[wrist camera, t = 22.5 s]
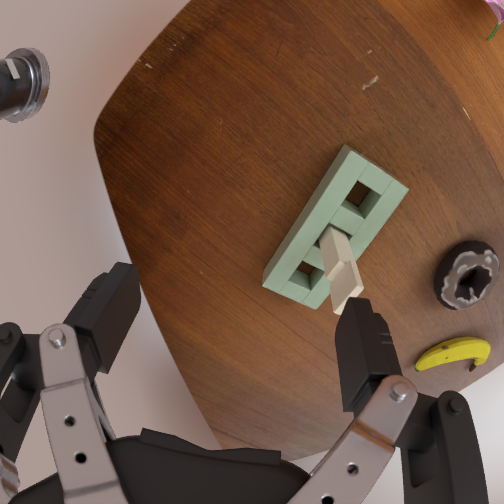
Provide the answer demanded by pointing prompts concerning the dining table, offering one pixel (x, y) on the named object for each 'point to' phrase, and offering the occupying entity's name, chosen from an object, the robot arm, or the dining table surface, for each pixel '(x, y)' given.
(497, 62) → the dining table surface
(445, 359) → the banana
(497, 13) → the lily
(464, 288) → the donut
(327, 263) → the cream offset-tab post
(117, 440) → the robot arm
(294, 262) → the caddy
